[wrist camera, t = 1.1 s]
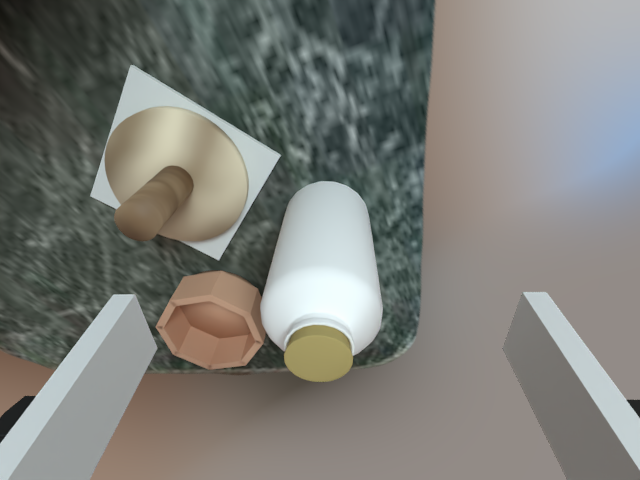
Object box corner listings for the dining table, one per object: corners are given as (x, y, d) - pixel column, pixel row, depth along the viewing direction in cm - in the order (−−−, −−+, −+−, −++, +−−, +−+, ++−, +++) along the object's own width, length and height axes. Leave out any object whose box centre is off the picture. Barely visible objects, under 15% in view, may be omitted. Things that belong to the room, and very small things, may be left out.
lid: (96, 194, 36) (31, 243, 28) (134, 74, 30) (64, 94, 22) (216, 255, 39) (186, 313, 32) (272, 157, 33) (253, 200, 25)
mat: (92, 194, 36) (90, 196, 36) (132, 64, 30) (130, 65, 29) (219, 258, 40) (218, 260, 40) (280, 154, 33) (280, 156, 33)
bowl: (164, 312, 45) (146, 343, 40) (197, 251, 40) (180, 280, 35) (243, 347, 47) (233, 379, 43) (283, 294, 42) (277, 325, 38)
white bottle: (270, 198, 36) (219, 334, 20) (347, 162, 33) (354, 287, 18) (309, 260, 39) (290, 415, 24) (380, 232, 37) (409, 383, 22)
